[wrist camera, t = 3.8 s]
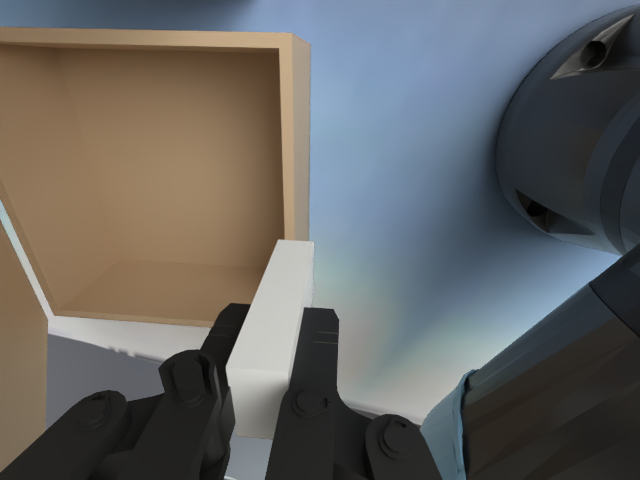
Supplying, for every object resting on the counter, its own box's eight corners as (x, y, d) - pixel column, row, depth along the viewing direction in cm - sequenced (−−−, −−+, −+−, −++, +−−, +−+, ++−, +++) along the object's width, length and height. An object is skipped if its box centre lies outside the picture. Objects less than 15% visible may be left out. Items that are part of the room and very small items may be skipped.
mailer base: (310, 44, 22) (292, 32, 15) (308, 271, 30) (296, 333, 23) (53, 38, 23) (-80, 24, 16) (120, 259, 31) (54, 315, 24)
